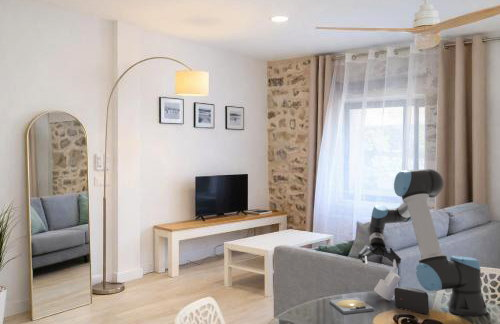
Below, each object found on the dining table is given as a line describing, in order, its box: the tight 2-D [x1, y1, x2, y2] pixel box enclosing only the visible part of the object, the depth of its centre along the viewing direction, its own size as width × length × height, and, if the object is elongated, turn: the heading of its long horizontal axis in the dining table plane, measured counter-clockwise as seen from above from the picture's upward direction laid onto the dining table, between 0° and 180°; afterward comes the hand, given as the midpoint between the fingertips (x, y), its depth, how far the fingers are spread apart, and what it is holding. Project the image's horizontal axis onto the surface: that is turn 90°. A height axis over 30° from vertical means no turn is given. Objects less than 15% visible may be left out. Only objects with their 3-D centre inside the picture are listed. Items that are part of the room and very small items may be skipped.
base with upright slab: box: [373, 269, 402, 302], centre depth 229 cm, size 9×9×12 cm
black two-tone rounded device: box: [394, 286, 430, 315], centre depth 213 cm, size 16×5×9 cm, turn 40°
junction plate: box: [329, 296, 375, 315], centre depth 222 cm, size 18×14×2 cm
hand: (380, 268), depth 231 cm, fingers open, 13 cm apart
